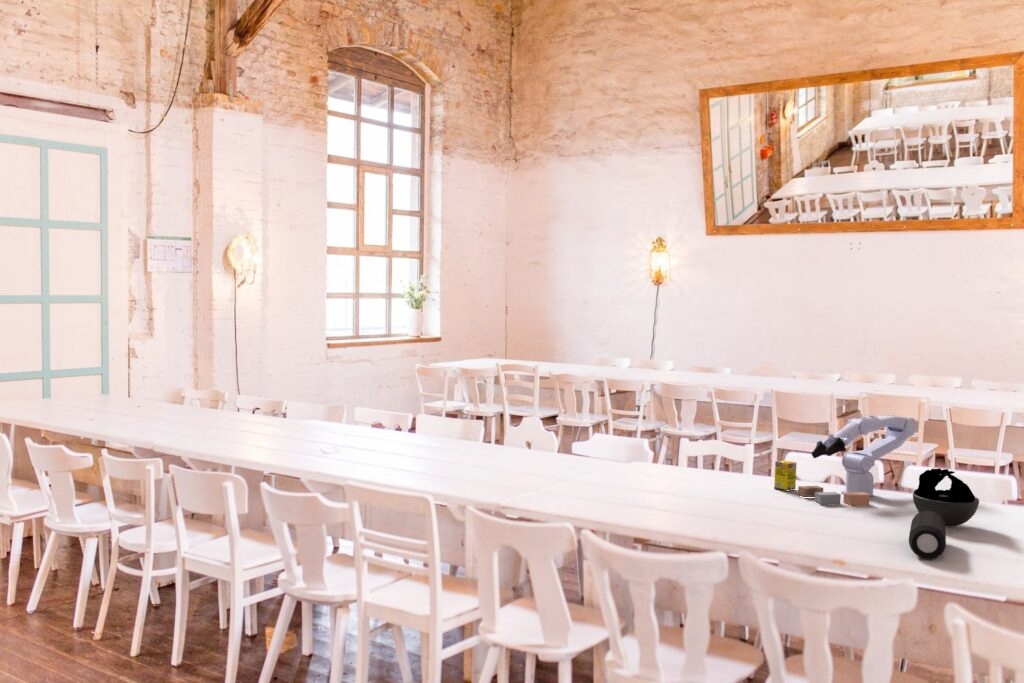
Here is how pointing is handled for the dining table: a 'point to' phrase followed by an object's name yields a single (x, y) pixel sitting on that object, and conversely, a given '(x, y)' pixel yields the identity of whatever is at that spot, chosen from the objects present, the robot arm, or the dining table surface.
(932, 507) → the coal bowl
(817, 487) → the walnut brick
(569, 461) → the dining table surface
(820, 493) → the slate-grey brick
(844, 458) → the robot arm
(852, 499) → the terracotta brick
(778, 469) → the supplement box
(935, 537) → the portable speaker
